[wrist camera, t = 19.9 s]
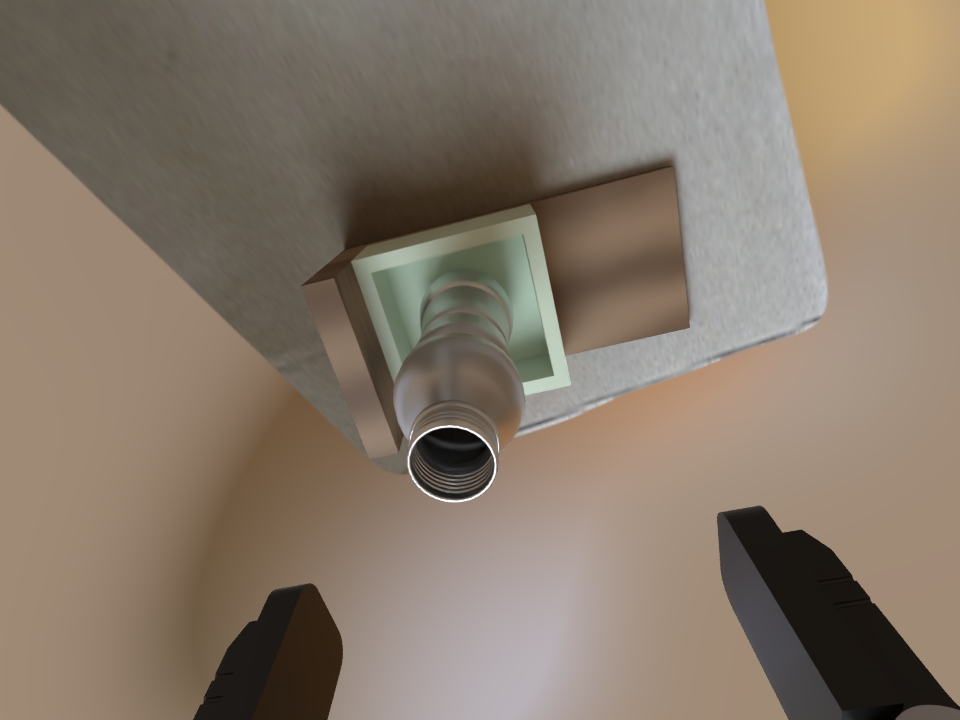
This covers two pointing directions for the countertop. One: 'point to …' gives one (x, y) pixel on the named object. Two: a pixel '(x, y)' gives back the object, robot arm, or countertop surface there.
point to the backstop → (573, 278)
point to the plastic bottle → (459, 387)
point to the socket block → (474, 245)
